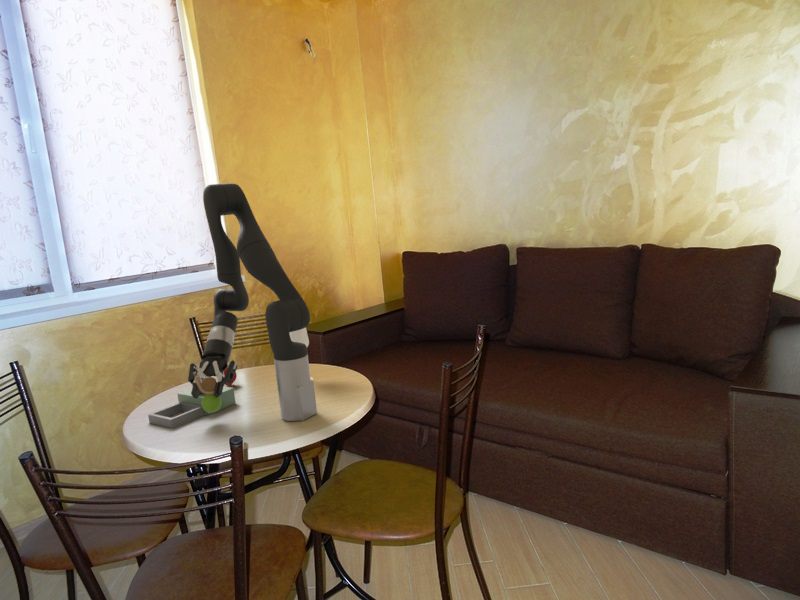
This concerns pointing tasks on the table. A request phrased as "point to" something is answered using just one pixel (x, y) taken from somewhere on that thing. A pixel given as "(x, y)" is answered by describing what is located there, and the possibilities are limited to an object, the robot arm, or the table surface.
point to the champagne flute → (300, 338)
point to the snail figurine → (208, 394)
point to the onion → (232, 379)
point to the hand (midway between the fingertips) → (205, 396)
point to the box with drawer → (188, 408)
